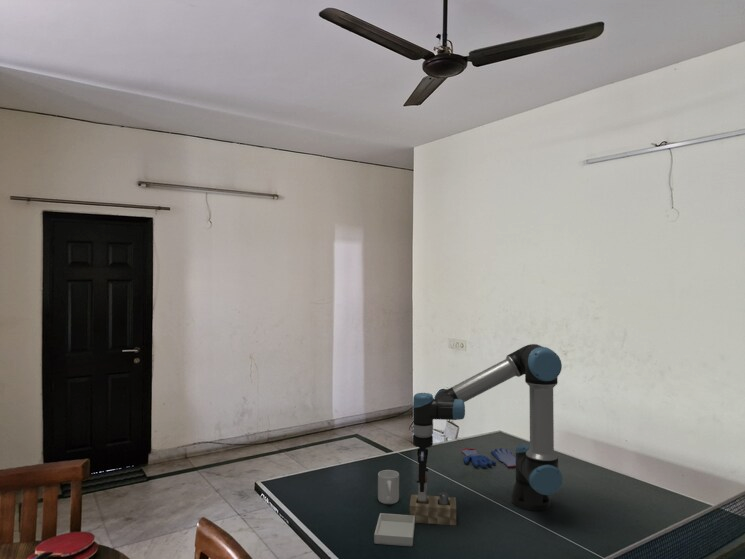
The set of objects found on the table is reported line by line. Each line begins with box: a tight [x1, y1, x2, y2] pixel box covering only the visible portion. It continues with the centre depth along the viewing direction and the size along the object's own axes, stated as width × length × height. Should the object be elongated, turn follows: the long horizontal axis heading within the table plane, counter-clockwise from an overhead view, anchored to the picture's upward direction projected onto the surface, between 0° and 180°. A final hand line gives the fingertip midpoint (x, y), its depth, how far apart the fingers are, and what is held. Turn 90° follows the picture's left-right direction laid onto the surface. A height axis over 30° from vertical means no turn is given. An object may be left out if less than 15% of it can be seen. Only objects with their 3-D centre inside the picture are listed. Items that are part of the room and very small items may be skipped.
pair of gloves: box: [461, 447, 516, 470], centre depth 249 cm, size 32×26×4 cm
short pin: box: [438, 492, 449, 505], centre depth 186 cm, size 3×3×9 cm
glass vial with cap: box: [417, 474, 428, 504], centre depth 187 cm, size 3×3×16 cm
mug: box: [377, 469, 400, 505], centre depth 200 cm, size 9×12×11 cm
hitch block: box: [409, 494, 457, 526], centre depth 187 cm, size 17×10×6 cm, turn 82°
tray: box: [373, 512, 416, 547], centre depth 174 cm, size 13×16×3 cm
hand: (422, 494), depth 187 cm, fingers open, 9 cm apart
